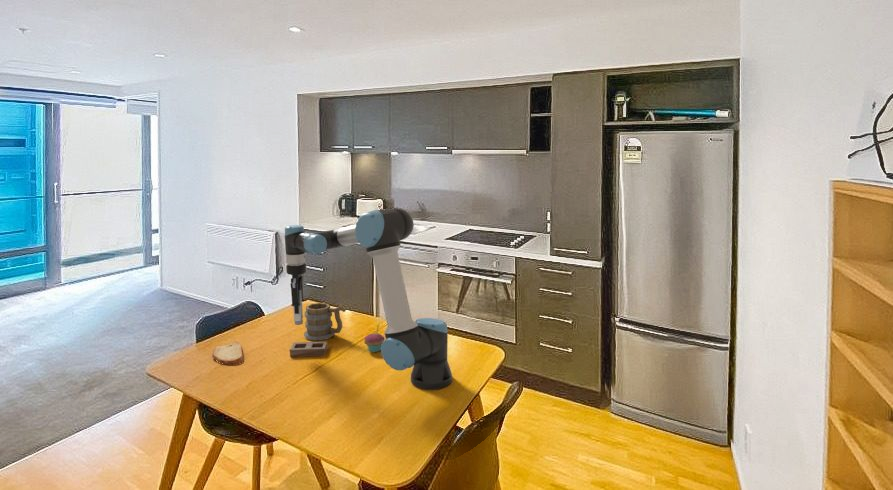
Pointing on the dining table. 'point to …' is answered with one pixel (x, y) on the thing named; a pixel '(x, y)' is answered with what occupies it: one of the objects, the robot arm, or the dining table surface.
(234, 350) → the bread slice
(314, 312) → the tankard
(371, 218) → the robot arm
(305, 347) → the hole block
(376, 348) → the cupcake
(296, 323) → the dowel
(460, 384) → the dining table surface
